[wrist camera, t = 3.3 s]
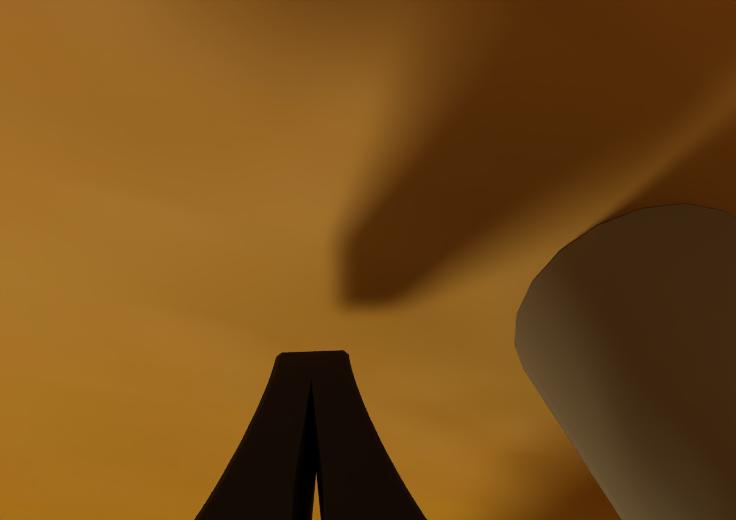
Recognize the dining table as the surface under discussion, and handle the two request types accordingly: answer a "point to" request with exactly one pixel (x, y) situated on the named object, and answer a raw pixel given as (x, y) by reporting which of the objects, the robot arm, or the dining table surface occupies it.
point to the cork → (643, 358)
